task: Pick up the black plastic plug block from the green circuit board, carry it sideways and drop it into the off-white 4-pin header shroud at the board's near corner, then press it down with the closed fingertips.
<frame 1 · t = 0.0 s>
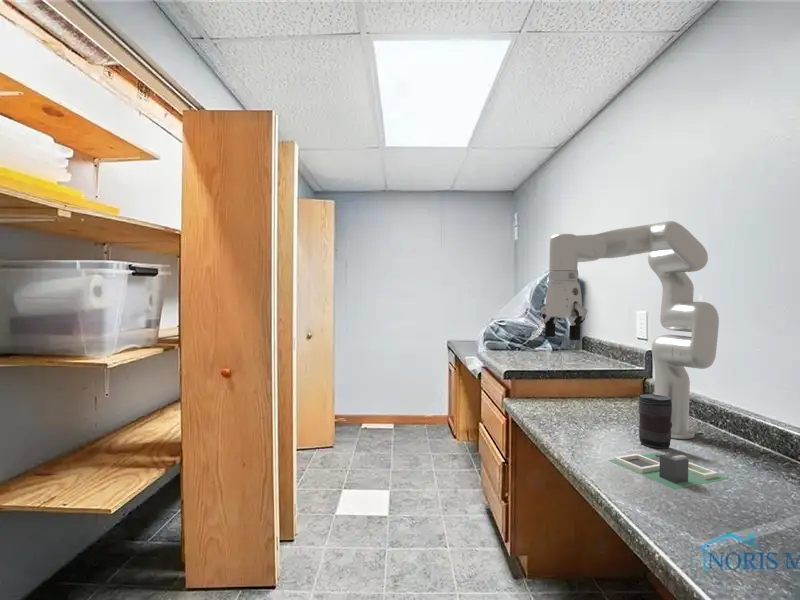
hand: (561, 338, 123), 31 cm above the counter, tool pointing down, fingers open, 9 cm apart
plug: (673, 478, 100), point 1 cm above the counter, touching board
board: (665, 473, 106), on the counter
camera lens: (654, 449, 124), on the counter
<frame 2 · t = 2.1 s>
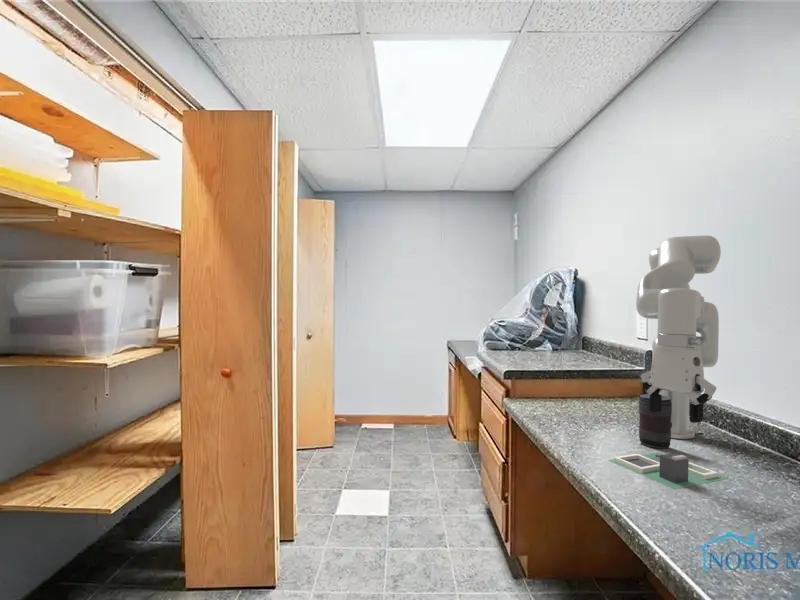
hand: (674, 416, 100), 16 cm above the counter, tool pointing down, fingers open, 9 cm apart
nothing on the counter moved.
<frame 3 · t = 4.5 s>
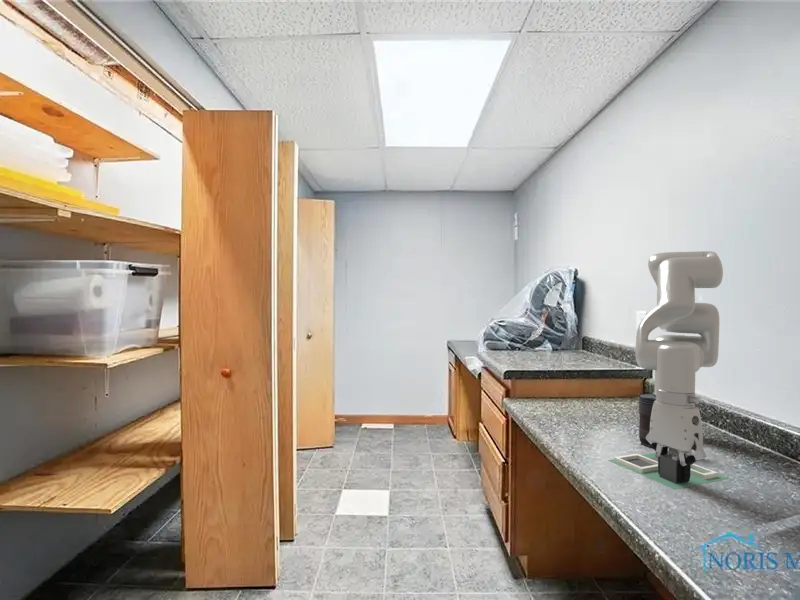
hand: (673, 476, 100), 2 cm above the counter, tool pointing down, fingers closed on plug, 4 cm apart
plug: (673, 478, 100), point 1 cm above the counter, touching board, gripper
everything else where it was.
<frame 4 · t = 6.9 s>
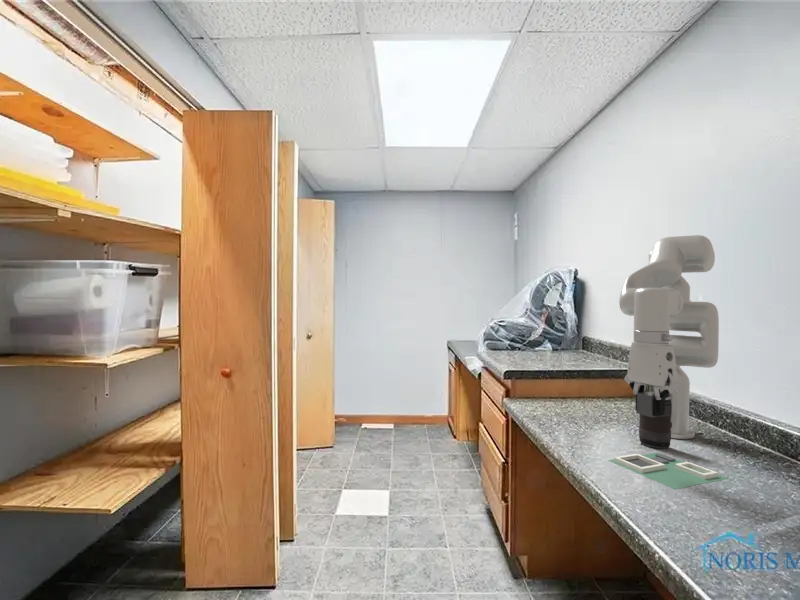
hand: (649, 412, 106), 15 cm above the counter, tool pointing down, fingers closed on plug, 4 cm apart
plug: (649, 414, 106), point 14 cm above the counter, touching gripper
everything else where it was.
when the fingers open (3 cm above the counter, at t = 9.4 s): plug drops 1 cm, resting on board.
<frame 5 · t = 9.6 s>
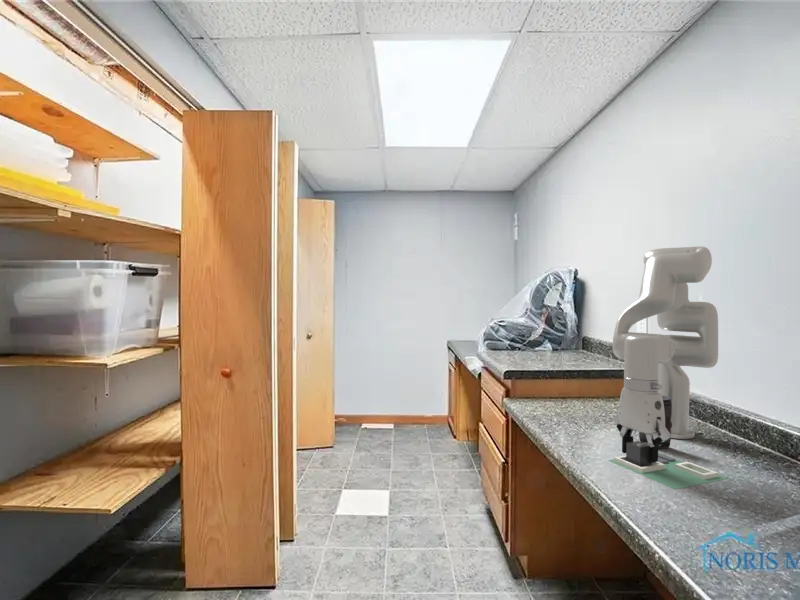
hand: (639, 456, 108), 3 cm above the counter, tool pointing down, fingers open, 6 cm apart
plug: (638, 464, 109), point 1 cm above the counter, touching board
everything else where it was.
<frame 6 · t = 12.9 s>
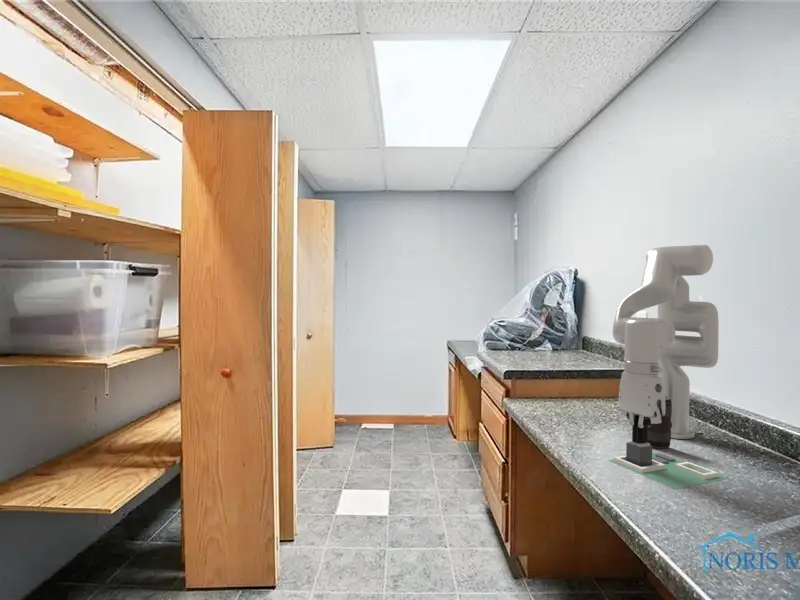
hand: (639, 442, 108), 7 cm above the counter, tool pointing down, fingers closed
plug: (638, 464, 109), point 1 cm above the counter, touching board, gripper
everything else where it was.
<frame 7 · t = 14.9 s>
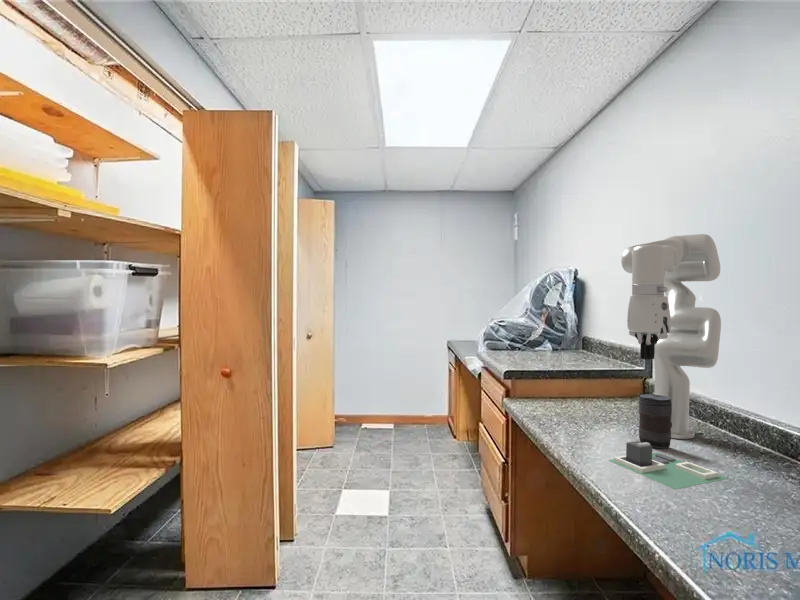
hand: (647, 358, 118), 27 cm above the counter, tool pointing down, fingers closed
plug: (638, 464, 109), point 1 cm above the counter, touching board
everything else where it was.
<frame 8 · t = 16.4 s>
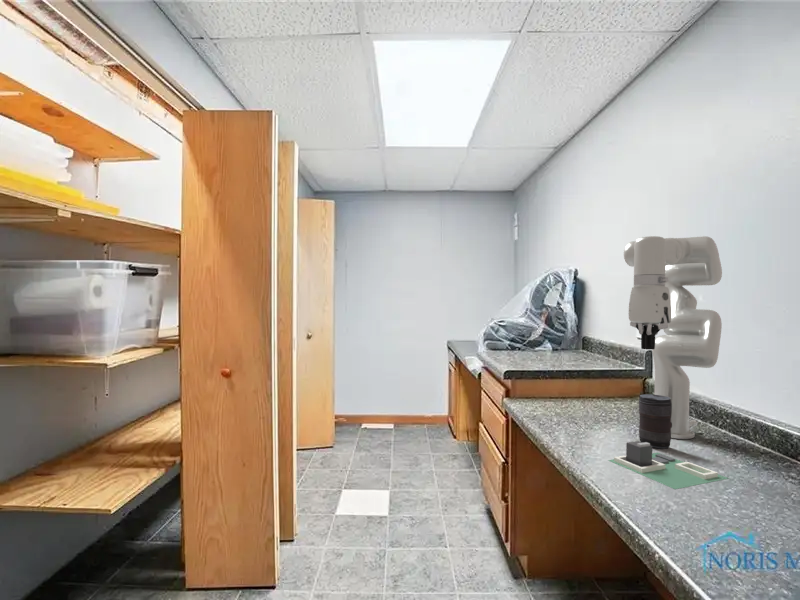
hand: (647, 349, 119), 29 cm above the counter, tool pointing down, fingers closed
nothing on the counter moved.
at the end: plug 0.1 cm from the target spot on the board, point 1.3 cm above the board's base; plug tilted 0°; the gripper is holding nothing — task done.
